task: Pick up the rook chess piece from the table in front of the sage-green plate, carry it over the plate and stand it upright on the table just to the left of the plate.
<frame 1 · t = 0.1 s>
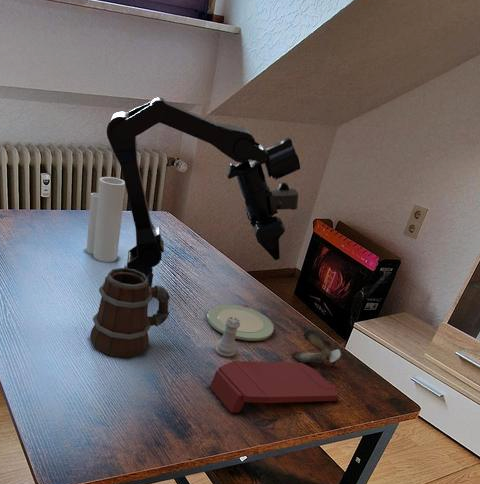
hand: (274, 251, 127), 15 cm above the table, tool tilted 35°, fingers open, 9 cm apart
vase: (100, 254, 148), on the table
dark red wedge slab: (273, 392, 107), on the table
rook chess piece: (224, 353, 116), on the table
mug: (128, 343, 113), on the table
eagle figurine: (315, 362, 119), on the table
plate: (239, 325, 127), on the table
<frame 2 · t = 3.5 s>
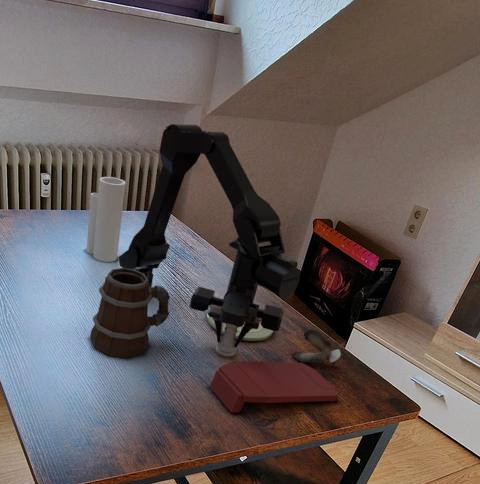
hand: (227, 344, 115), 2 cm above the table, tool pointing down, fingers closed on rook chess piece, 3 cm apart
rook chess piece: (224, 353, 116), on the table, touching gripper
everything else where it was.
when the fingers open (2 cm above the table, at t = 9.3 s): rook chess piece stays where it is, on the table.
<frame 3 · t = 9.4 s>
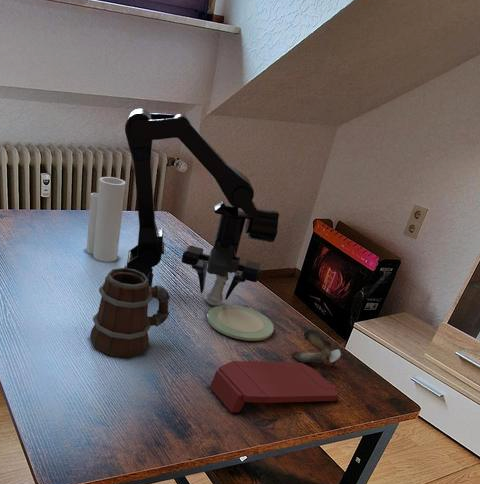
hand: (213, 295, 133), 2 cm above the table, tool pointing down, fingers open, 6 cm apart
rook chess piece: (212, 302, 134), on the table
everything else where it was.
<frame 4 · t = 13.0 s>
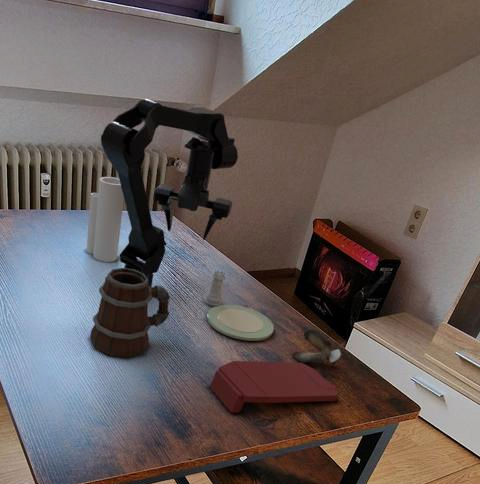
hand: (186, 235, 135), 12 cm above the table, tool pointing down, fingers open, 9 cm apart
nothing on the table moved.
at the end: rook chess piece inside the target area on the table beside the plate (0.9 cm from its centre), on the table; rook chess piece tilted 0°; the gripper is holding nothing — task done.
